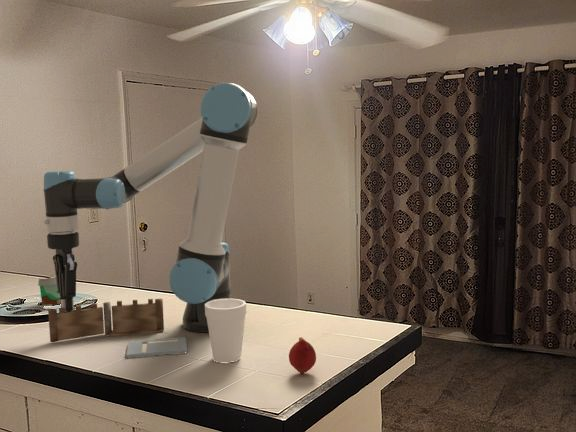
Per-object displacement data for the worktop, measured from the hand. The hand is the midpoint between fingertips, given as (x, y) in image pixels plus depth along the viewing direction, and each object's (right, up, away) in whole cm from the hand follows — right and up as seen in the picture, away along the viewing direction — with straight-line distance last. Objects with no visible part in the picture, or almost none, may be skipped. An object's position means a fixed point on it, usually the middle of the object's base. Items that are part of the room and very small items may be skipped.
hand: (68, 322), depth 152 cm
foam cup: (+43, -6, -16) cm, 46 cm away
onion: (+60, -7, -26) cm, 66 cm away
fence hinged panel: (+2, -4, 0) cm, 5 cm away
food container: (-15, -1, +33) cm, 37 cm away
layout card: (+25, -5, -8) cm, 27 cm away
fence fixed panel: (+16, -4, +5) cm, 17 cm away
